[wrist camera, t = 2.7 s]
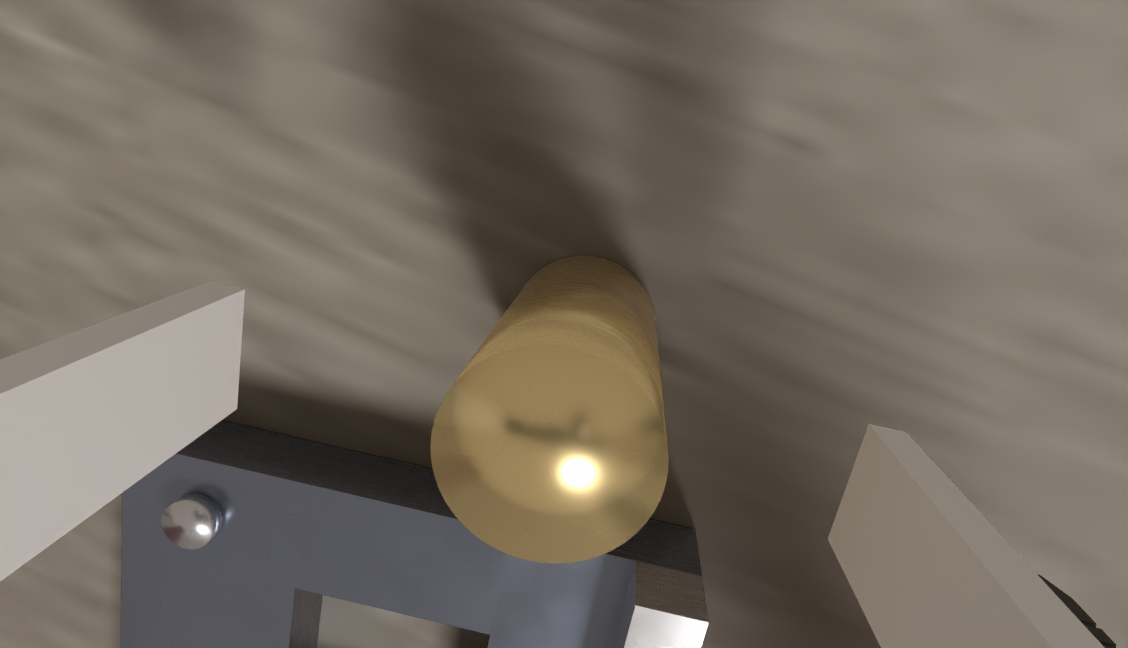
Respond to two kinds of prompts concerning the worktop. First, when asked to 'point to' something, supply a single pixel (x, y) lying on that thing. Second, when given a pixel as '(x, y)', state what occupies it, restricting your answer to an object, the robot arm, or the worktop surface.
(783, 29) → the worktop surface
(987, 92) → the worktop surface
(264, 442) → the jig
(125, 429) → the robot arm
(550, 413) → the brass cylinder
